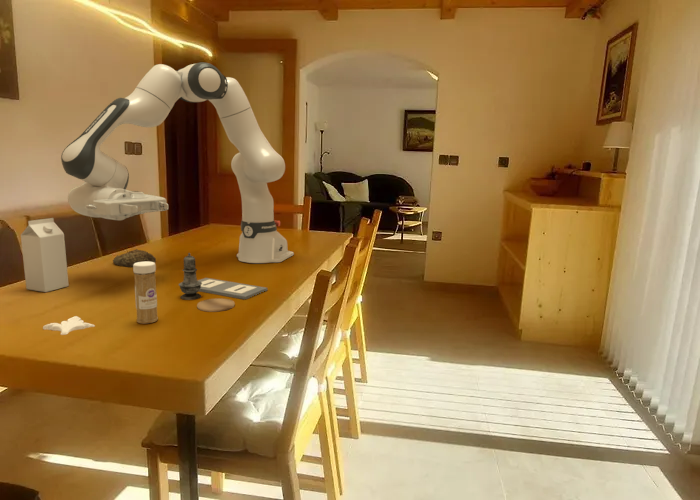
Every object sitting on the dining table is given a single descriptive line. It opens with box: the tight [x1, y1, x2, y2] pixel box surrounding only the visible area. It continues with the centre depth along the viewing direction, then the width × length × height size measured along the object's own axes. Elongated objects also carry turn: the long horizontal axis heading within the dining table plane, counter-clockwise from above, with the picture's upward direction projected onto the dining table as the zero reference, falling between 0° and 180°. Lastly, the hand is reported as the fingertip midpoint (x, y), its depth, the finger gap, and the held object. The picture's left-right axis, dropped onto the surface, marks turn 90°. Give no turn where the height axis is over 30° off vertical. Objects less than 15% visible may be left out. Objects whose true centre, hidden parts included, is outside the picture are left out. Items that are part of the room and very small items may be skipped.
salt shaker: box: [178, 252, 202, 301], centre depth 126 cm, size 6×6×12 cm
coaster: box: [196, 297, 236, 313], centre depth 120 cm, size 9×9×1 cm
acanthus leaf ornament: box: [42, 315, 96, 336], centre depth 103 cm, size 8×7×2 cm
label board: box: [197, 277, 268, 300], centre depth 135 cm, size 10×22×1 cm, turn 65°
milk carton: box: [20, 217, 70, 293], centre depth 130 cm, size 7×7×19 cm
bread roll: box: [112, 248, 157, 268], centre depth 164 cm, size 13×12×5 cm
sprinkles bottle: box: [132, 261, 159, 325], centre depth 107 cm, size 5×5×13 cm
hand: (153, 208), depth 128 cm, fingers open, 8 cm apart
